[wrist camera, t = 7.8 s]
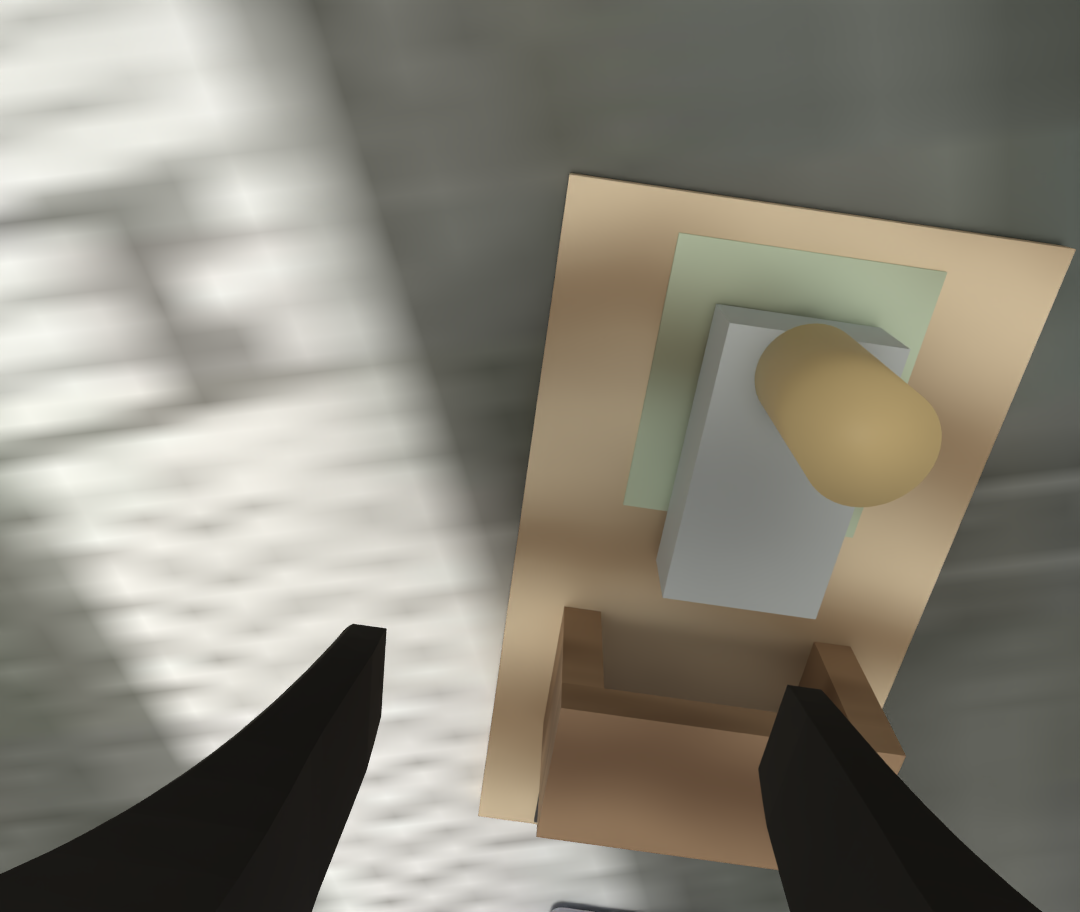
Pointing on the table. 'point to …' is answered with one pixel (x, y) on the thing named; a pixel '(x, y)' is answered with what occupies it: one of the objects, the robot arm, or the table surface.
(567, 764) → the tunnel
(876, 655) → the board
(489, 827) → the table surface
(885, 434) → the tan-topped grey block
